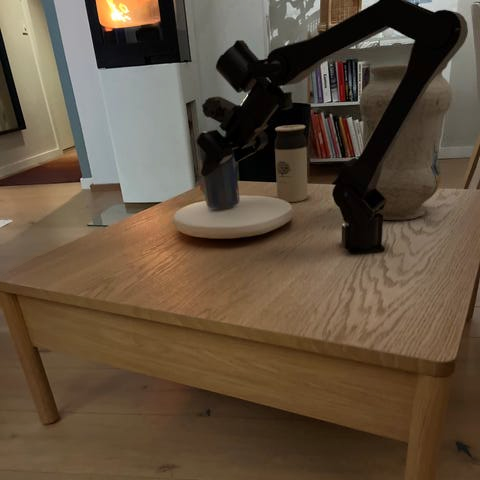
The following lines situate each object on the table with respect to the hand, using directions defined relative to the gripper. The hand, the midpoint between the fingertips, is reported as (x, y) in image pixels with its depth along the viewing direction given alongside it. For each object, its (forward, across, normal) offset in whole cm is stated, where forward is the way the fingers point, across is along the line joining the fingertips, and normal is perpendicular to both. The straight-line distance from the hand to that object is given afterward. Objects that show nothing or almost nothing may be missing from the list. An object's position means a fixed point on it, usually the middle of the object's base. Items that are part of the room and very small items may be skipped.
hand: (213, 171), depth 99 cm
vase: (-13, -24, +33) cm, 43 cm away
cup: (+4, 0, +6) cm, 7 cm away
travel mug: (+7, -31, +12) cm, 34 cm away
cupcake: (+21, -24, -2) cm, 32 cm away
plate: (+9, -4, +11) cm, 14 cm away
